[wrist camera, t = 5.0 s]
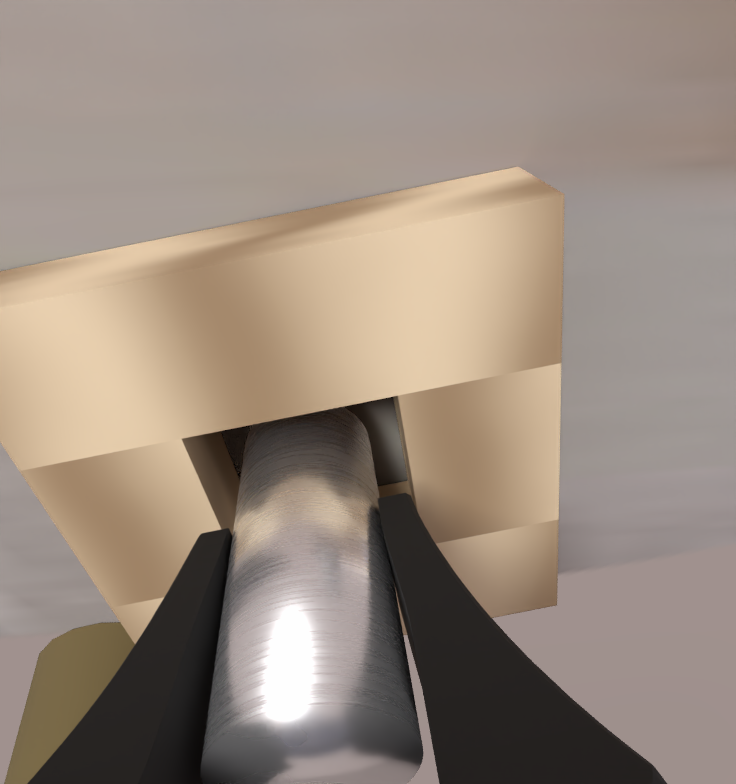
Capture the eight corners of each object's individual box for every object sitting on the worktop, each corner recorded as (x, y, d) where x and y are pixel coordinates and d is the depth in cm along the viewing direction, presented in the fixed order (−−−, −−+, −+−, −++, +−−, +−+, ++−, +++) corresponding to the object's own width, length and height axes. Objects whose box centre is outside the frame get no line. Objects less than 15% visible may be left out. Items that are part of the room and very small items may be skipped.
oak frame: (518, 166, 12) (564, 194, 10) (527, 539, 19) (556, 605, 17) (-13, 273, 13) (-79, 323, 10) (176, 608, 19) (160, 682, 17)
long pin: (368, 393, 14) (425, 692, 7) (372, 491, 15) (421, 804, 9) (235, 404, 14) (179, 721, 7) (254, 503, 15) (221, 831, 9)
